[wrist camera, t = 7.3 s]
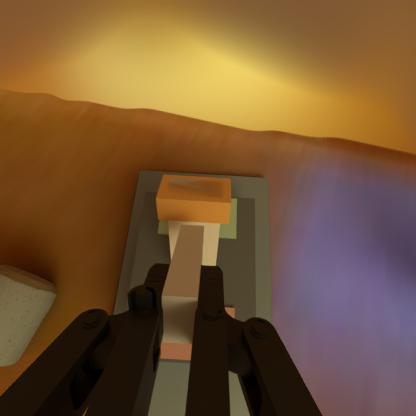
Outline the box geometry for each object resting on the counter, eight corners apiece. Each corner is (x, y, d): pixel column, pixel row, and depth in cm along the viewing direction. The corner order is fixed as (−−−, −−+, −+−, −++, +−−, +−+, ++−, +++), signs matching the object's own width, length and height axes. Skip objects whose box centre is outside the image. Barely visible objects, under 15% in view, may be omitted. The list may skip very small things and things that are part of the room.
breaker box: (271, 421, 27) (297, 462, 19) (100, 409, 27) (62, 446, 20) (265, 183, 37) (280, 152, 30) (142, 175, 37) (127, 142, 30)
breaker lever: (221, 279, 23) (231, 203, 17) (164, 275, 23) (155, 198, 18) (221, 253, 26) (230, 178, 20) (169, 250, 26) (163, 174, 20)
